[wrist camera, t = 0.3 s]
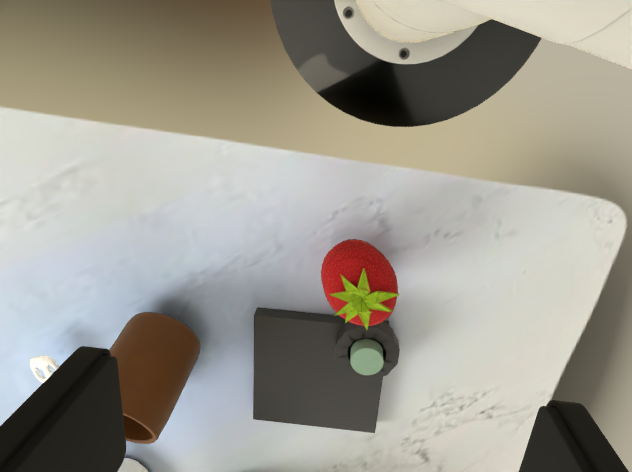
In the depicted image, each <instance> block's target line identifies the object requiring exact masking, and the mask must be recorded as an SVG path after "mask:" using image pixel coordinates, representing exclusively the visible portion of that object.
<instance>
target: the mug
mask: <svg viewBox="0 0 632 472" xmlns="http://www.w3.org/2000/svg"><path fill="white" fill-rule="evenodd" d="M109 351H110V353H111V356H114V357H116V359H117V362H118V371H119V381H120V390H121V400H122V410H123V420H124V429H125V439H126V440H127V441H131V442H135V443H142V444H150V443H153V442H155V441H156V440H157V439H158V437H159V435H160V433H161V432H162V430H163V428H164V426H165V425H166V423H167V421H168V419H169V417H170V415H171V413H172V411H173V409H174V407H175V405H176V403H177V401H178V399H179V396H180V394H181V392H182V390H183V388H184V386H185V384H186V382H187V379H188V377H189V375H190V373H191V371H192V369H193V367H194V364H195V362H196V360H197V358H198V356H199V353H200V342H199V339H198V338H197V336H196V335H195V333H194V332H193V331H192V330H191V329H190V328H188V327H187V326H186V325H184V324H183V323H181V322H180V321H178V320H176V319H174V318H172V317H169V316H167V315H163V314H159V313H153V312H144V313H140V314H137V315H135V316H134V317H132V318H131V319H130V320H129V322H128V323H127V324H126V326H125V327H124V329H123V330H122V332H121V333H120V335H119V336H118V338H117V340H116V341H115V343H114V344H113V345H112V347H111V348H110V350H109Z"/></svg>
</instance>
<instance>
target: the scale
mask: <svg viewBox="0 0 632 472" xmlns="http://www.w3.org/2000/svg"><path fill="white" fill-rule="evenodd" d="M365 338H367V339H373V340H375V341H377V342H378V343H379V344H380V345H381V347H382V350H383V360H384V364H383V367H382V368H381V370H380V371H379V372H377V373H376V374H373V375H362V374H359V373H357V372H356V371H355V370H354V369H353V368H352V366H351V362H350V358H351V347H352V345H353V344H354V343H355V342H356V341H358V340H360V339H365ZM399 351H400V350H399V343H398V339H397V337H396V335H395V333H394V331H393V329H392V328H391V327H390V326H389V321H386V320H384V321H383V322H381V323H379V324H377V325H373V326H368V330H366V328H365V326H361V325H356V324H353V323H351V322H349V321H348V322H346V323H345V319H344V318H342V317H341V316H334V315H325V314H315V313H305V312H294V311H284V310H274V309H264V308H257V310H256V312H255V315H254V402H253V419H256V420H265V421H274V422H283V423H292V424H300V425H309V426H318V427H327V428H336V429H344V430H353V431H362V432H371V433H375V428H376V421H377V414H378V407H379V400H380V393H381V386H382V379H383V376H386V375H388V374H389V372H390V371H391V370H392V369H393V368H394V367H395V366H396V365H397V363H398V357H399Z"/></svg>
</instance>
